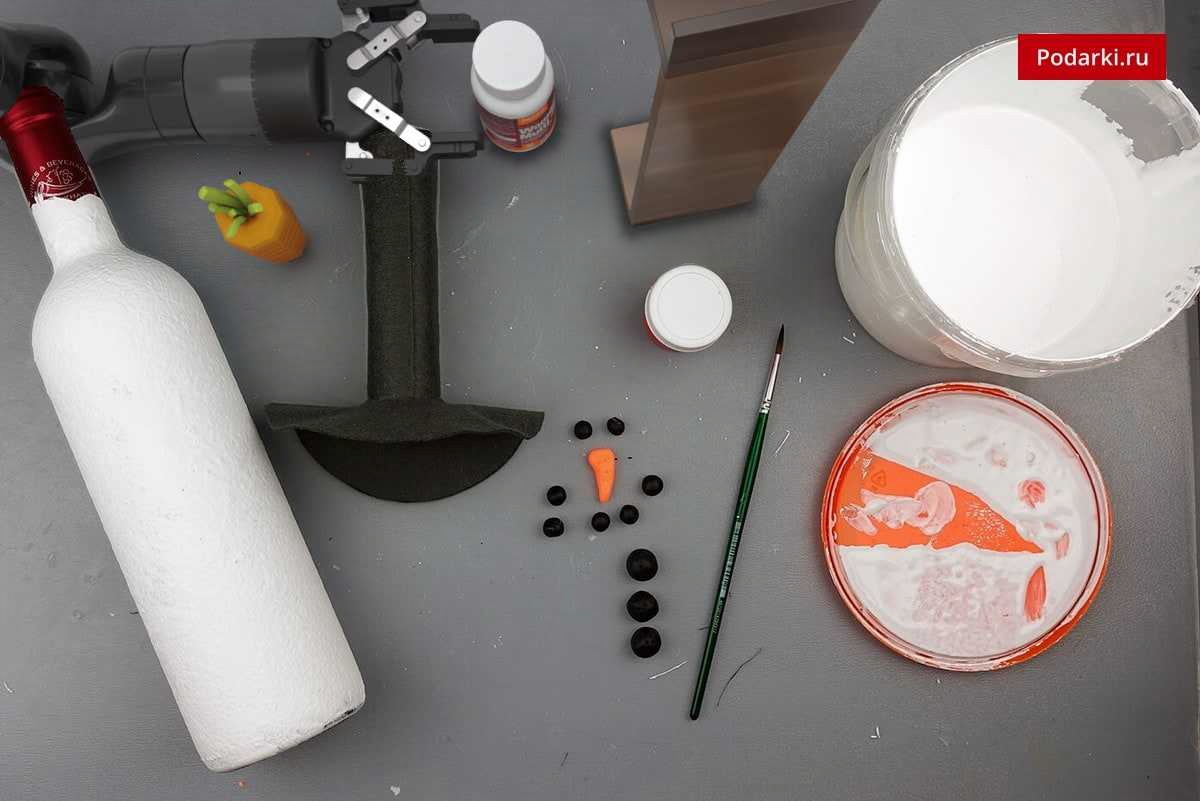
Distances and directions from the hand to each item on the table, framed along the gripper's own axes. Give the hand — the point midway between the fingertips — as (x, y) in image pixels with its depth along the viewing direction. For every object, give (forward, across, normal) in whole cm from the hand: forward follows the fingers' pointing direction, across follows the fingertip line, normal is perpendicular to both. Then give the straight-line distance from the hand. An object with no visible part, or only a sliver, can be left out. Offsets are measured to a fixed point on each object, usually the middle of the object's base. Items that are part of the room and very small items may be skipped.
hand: (481, 85), depth 68 cm
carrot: (-16, -10, +7) cm, 20 cm away
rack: (+15, -5, -22) cm, 27 cm away
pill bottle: (+2, 0, +7) cm, 7 cm away
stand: (+15, -5, +7) cm, 17 cm away
